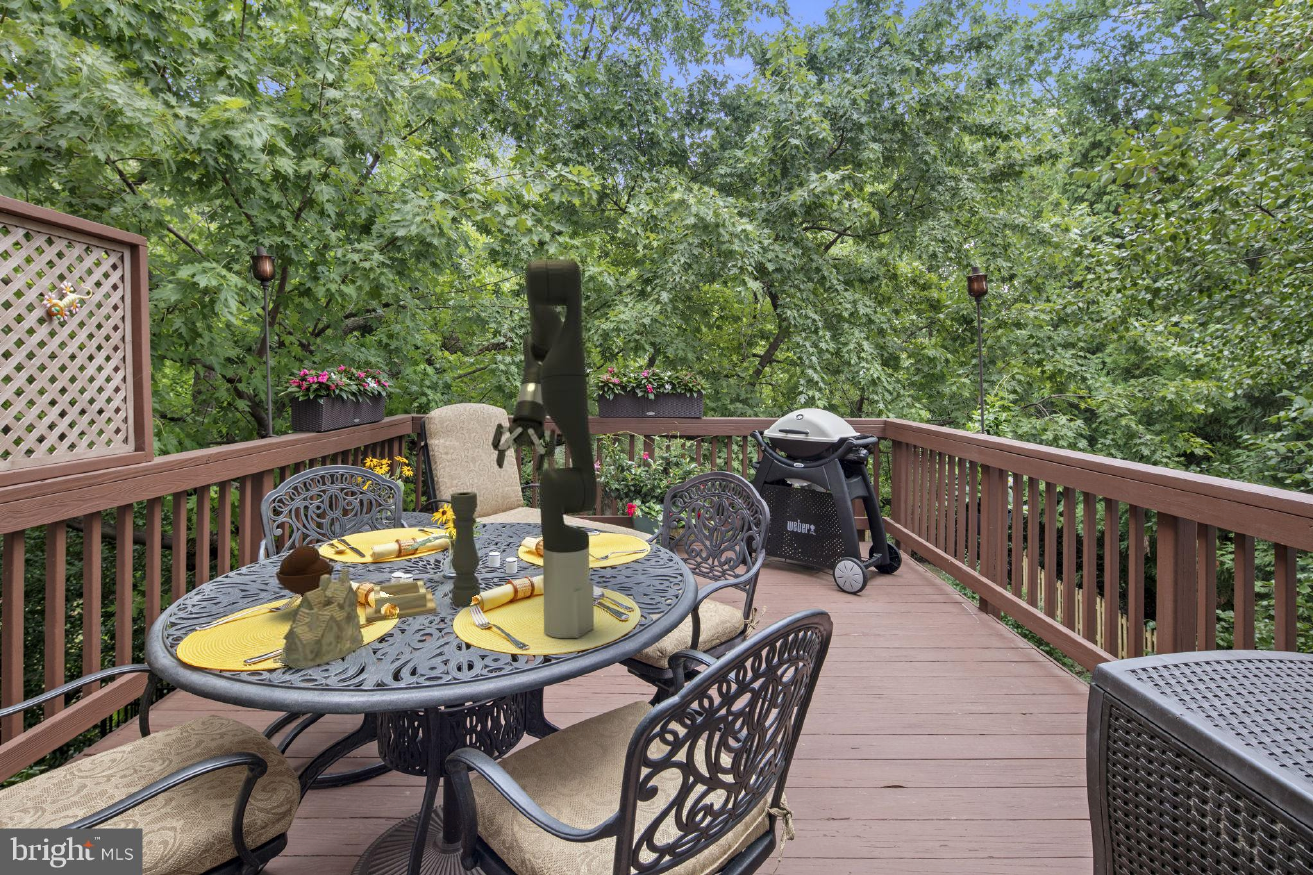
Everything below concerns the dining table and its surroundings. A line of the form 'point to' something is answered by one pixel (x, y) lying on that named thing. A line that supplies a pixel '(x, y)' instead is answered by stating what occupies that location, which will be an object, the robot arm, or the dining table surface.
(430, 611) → the socket base
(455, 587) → the candle holder
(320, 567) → the ice cream bowl
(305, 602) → the ceramic cottage
